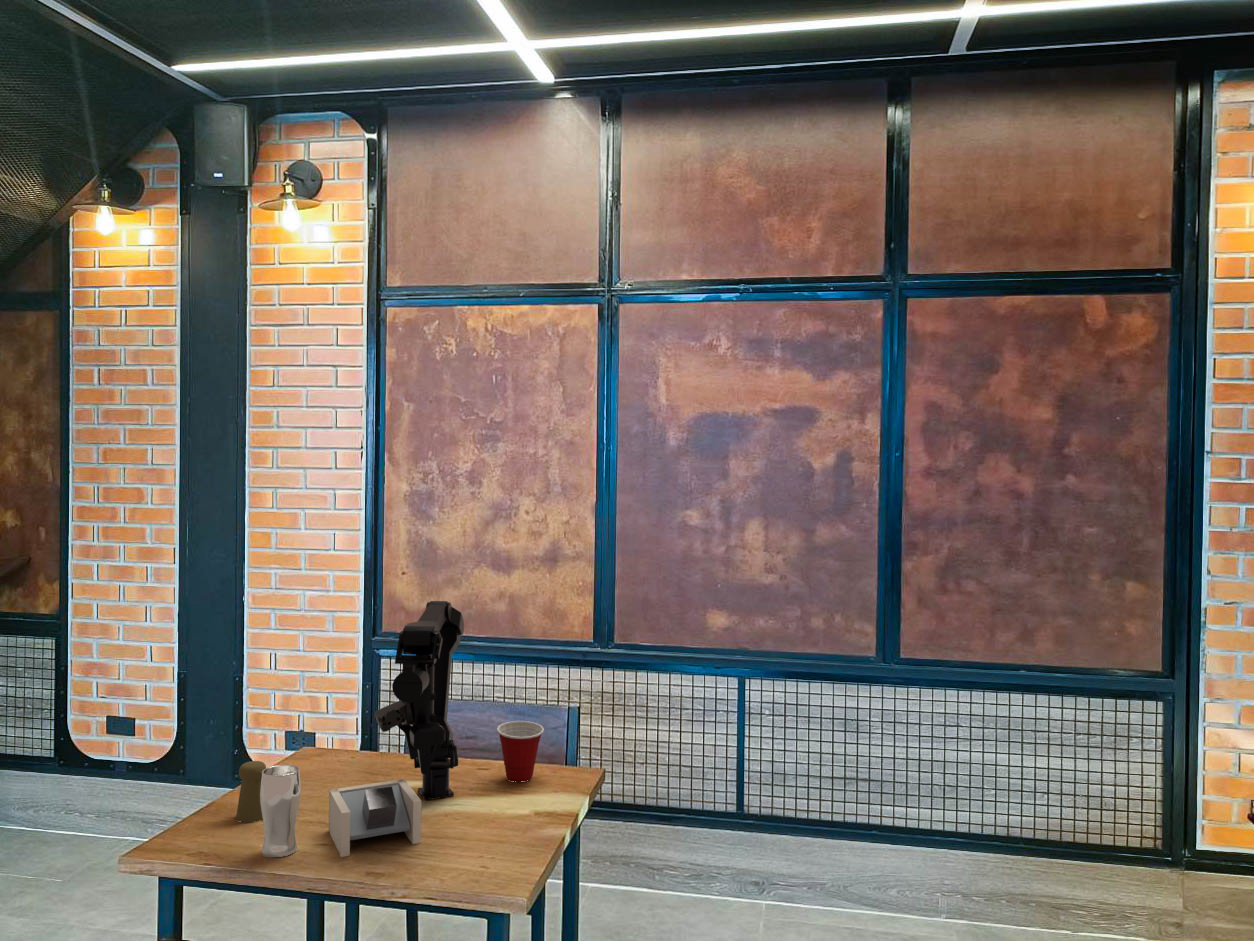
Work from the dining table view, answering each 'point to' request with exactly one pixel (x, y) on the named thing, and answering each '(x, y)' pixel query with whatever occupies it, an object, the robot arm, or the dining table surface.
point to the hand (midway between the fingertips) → (418, 766)
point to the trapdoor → (357, 818)
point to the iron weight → (379, 807)
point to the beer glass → (280, 809)
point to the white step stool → (341, 814)
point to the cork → (250, 792)
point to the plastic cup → (519, 748)
